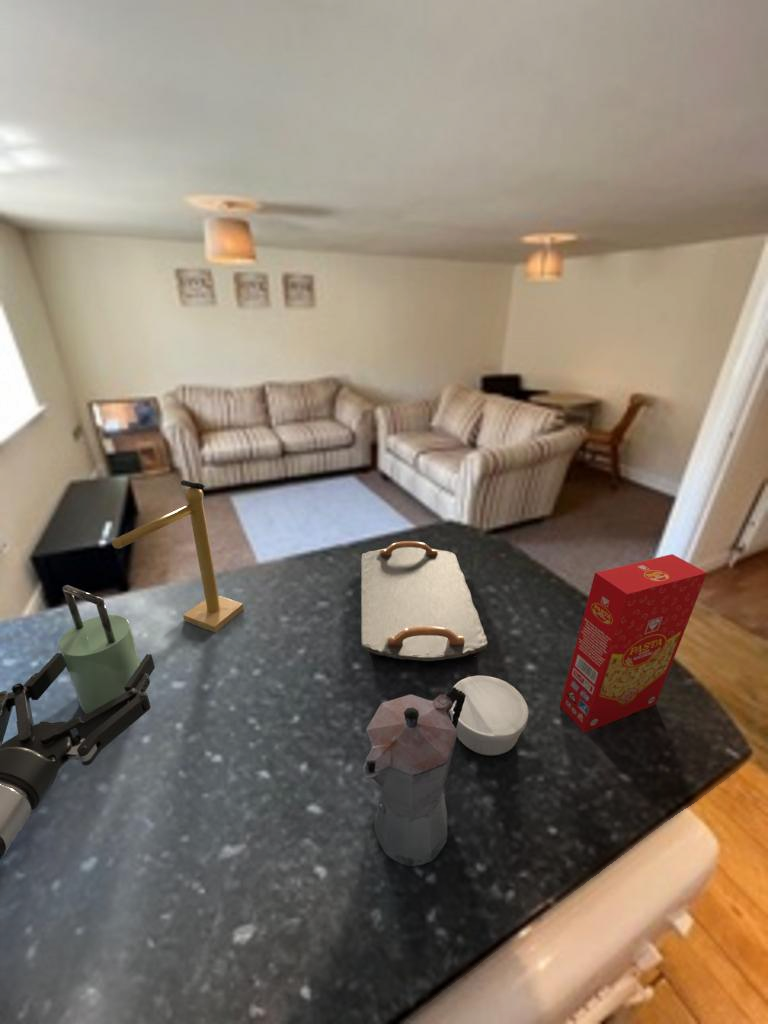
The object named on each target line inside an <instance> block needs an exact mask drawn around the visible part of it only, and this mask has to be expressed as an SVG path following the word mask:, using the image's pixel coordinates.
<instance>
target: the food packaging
mask: <svg viewBox="0 0 768 1024" xmlns="http://www.w3.org/2000/svg"><path fill="white" fill-rule="evenodd" d="M707 574H708V572H707V571H705V570H703V569H702V568H700V567H698V566H696V565H694V564H692V563H690V562H688V561H687V560H685V559H682V558H680V557H679V556H677V555H675V554H672V553H670V554H666V555H662V556H658V557H654V558H649V559H645V560H642V561H638V562H633V563H629V564H623V565H621V566H616V567H612V568H607V569H603V570H599V571H595V572H594V575H593V578H592V582H591V586H590V590H589V594H588V598H587V602H586V605H585V609H584V612H583V616H582V621H581V624H580V627H579V632H578V635H577V639H576V643H575V647H574V651H573V655H572V657H571V658H572V659H571V661H570V666H569V670H568V674H567V678H566V681H565V685H564V688H563V693H562V695H561V699H560V703H559V707H560V708H561V709H562V710H563V711H564V712H565V714H567V716H569V718H570V719H571V720H572V721H573V722H574V723H575V725H577V726H578V727H579V729H580V730H581V731H582V732H583V733H589V732H591V731H593V730H596V729H598V728H601V727H603V726H606V725H608V724H611V723H613V722H615V721H619V720H620V719H623V718H625V717H629V716H630V715H633V714H632V713H634V714H636V713H639V712H641V711H644V710H646V709H648V707H649V708H651V707H653V705H654V706H656V705H657V702H658V700H659V697H660V695H661V693H662V691H663V688H664V685H665V682H666V680H667V678H668V675H669V672H670V669H671V668H672V665H673V662H674V659H675V657H676V654H677V651H678V649H679V646H680V644H681V642H682V639H683V636H684V633H685V632H686V629H687V626H688V623H689V621H690V619H691V616H692V613H693V610H694V609H695V605H696V603H697V601H698V598H699V596H700V593H701V590H702V588H703V585H704V582H705V580H706V577H707ZM655 704H656V705H655ZM650 706H651V707H650ZM643 709H644V710H643ZM640 710H641V711H640ZM638 711H639V712H638ZM635 712H636V713H635Z"/></svg>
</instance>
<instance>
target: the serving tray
mask: <svg viewBox="0 0 768 1024" xmlns="http://www.w3.org/2000/svg"><path fill="white" fill-rule="evenodd" d="M360 561H361V562H360V563H361V565H360V569H361V572H360V579H361V581H360V582H361V584H360V589H361V590H360V596H361V598H360V601H361V603H360V604H361V605H360V609H361V613H360V616H361V618H360V619H361V620H360V621H361V623H360V629H361V631H360V633H361V637H360V638H361V647H362V649H363V650H364V651H367V652H368V654H369V656H370V658H371V659H375V660H376V659H378V658H379V657H380V656H381V657H382V656H383V657H388V658H390V659H391V658H392V659H397V660H408V661H409V660H410V661H420V662H435V661H444V660H450V659H458V658H463V657H466V656H469V655H470V656H471V655H472V656H477V657H478V656H479V655H480V654H481V652H482V651H484V650H485V649H488V646H489V642H488V639H487V635H486V634H485V630H484V627H483V626H482V622H481V620H480V616H479V612H478V610H477V608H476V607H475V604H474V603H473V596H472V594H471V590H470V588H469V587H468V584H467V583H466V576H465V574H464V573H463V571H462V569H461V567H460V564H459V560H458V559H457V556H456V554H455V553H454V552H451V551H449V550H441V549H437V548H432V547H430V546H429V545H428V544H427V543H425V542H421V541H417V540H416V541H414V540H405V541H397V542H394V543H392V544H390V545H389V546H387V547H386V548H380V549H376V550H369V551H366V552H364V553H362V554H361V556H360ZM472 656H471V657H472Z"/></svg>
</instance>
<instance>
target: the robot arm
mask: <svg viewBox="0 0 768 1024" xmlns="http://www.w3.org/2000/svg"><path fill="white" fill-rule="evenodd" d="M155 668H156V666H155V663H154V659H153V654H151V653H146V654H145V656H144V657H143V659H142V660H141V661H140V665H139V666H138V668H137V669H136V671H135V672H134V674H133V675H132V677H131V678H130V680H129V681H128V683H127V684H126V686H125V691H126V692H125V693H123V694H121V695H120V696H118V697H116V698H114V699H113V700H111V701H109V702H107V703H106V704H104V705H102V706H100V707H99V708H97V709H95V710H93V711H91V712H90V713H88V714H85V715H83V716H75V717H73V718H72V719H70V720H68V721H56V722H50V721H40V722H39V723H36V724H35V723H34V718H33V713H32V712H33V711H32V708H31V707H32V706H31V701H38V700H39V699H40V698H41V697H42V695H43V694H44V693H45V692H46V691H47V690H48V688H50V687H51V685H52V684H53V683H54V682H55V681H56V680H57V678H58V677H60V675H61V674H62V673H63V672H64V670H66V669H67V668H66V665H65V662H64V660H63V657H62V654H61V652H56V653H55V654H54V655H53V656H52V657H51V658H50V659H49V661H48V662H46V664H45V665H44V666H43V667H42V668H41V669H40V670H39V672H35V673H33V674H32V675H31V676H30V678H29V679H27V681H26V682H25V683H24V684H23V683H22V682H19V683H16V684H14V685H12V686H11V692H8V690H2V691H0V860H1V859H2V858H3V857H4V855H5V854H6V852H7V851H8V849H9V848H10V846H11V845H12V843H13V842H14V841H15V840H16V837H18V834H19V833H20V831H21V830H22V829H23V827H24V826H25V824H26V823H27V821H28V820H29V818H30V817H31V815H32V811H34V810H35V809H36V808H37V807H38V806H39V805H40V803H41V802H42V800H43V799H44V797H45V796H46V794H47V793H48V791H49V790H50V788H51V787H52V786H53V784H54V783H55V780H56V778H57V775H58V774H59V771H60V769H61V768H62V767H63V766H64V764H65V763H67V762H68V761H69V760H76V761H80V762H81V765H82V766H85V767H86V766H89V765H92V763H93V762H94V761H95V759H96V758H97V757H98V756H99V754H100V753H101V751H103V749H104V748H106V747H107V746H109V744H111V742H113V741H114V740H115V739H116V738H118V737H119V736H120V735H121V734H123V733H124V732H125V731H126V730H127V729H128V728H130V726H132V725H133V724H134V723H135V722H137V721H138V720H139V719H140V718H142V717H143V716H144V715H145V714H146V713H147V712H149V711H150V709H151V703H150V698H149V695H148V693H147V692H146V691H147V689H148V687H149V686H150V684H151V679H150V677H151V675H152V674H153V671H154V670H155ZM30 699H31V701H30ZM128 701H129V702H128ZM14 707H15V715H16V729H17V734H16V735H15V736H13V737H11V738H9V739H8V740H6V741H5V742H4V739H5V735H6V732H7V728H8V725H9V721H10V718H11V715H12V711H13V708H14ZM74 729H75V731H76V733H77V734H76V735H75V736H73V732H72V730H74Z"/></svg>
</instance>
